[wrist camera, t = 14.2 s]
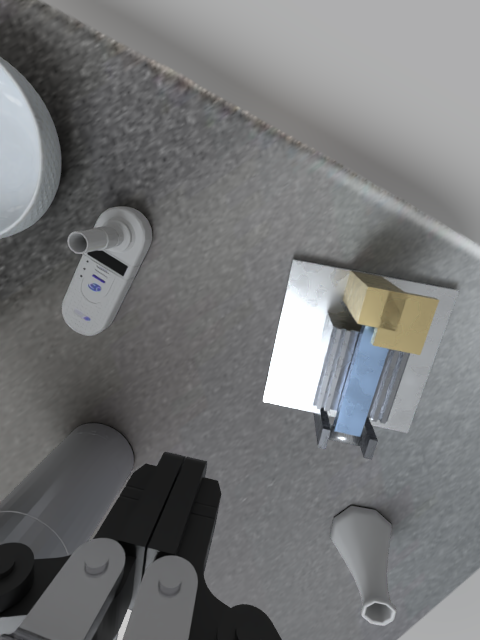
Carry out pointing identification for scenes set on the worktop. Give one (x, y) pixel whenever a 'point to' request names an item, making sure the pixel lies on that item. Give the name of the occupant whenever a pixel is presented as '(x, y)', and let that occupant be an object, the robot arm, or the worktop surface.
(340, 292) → the clip base
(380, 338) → the block
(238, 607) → the robot arm
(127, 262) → the electronic device
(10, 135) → the cereal bowl
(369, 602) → the flask
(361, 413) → the blue bar
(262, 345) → the worktop surface
